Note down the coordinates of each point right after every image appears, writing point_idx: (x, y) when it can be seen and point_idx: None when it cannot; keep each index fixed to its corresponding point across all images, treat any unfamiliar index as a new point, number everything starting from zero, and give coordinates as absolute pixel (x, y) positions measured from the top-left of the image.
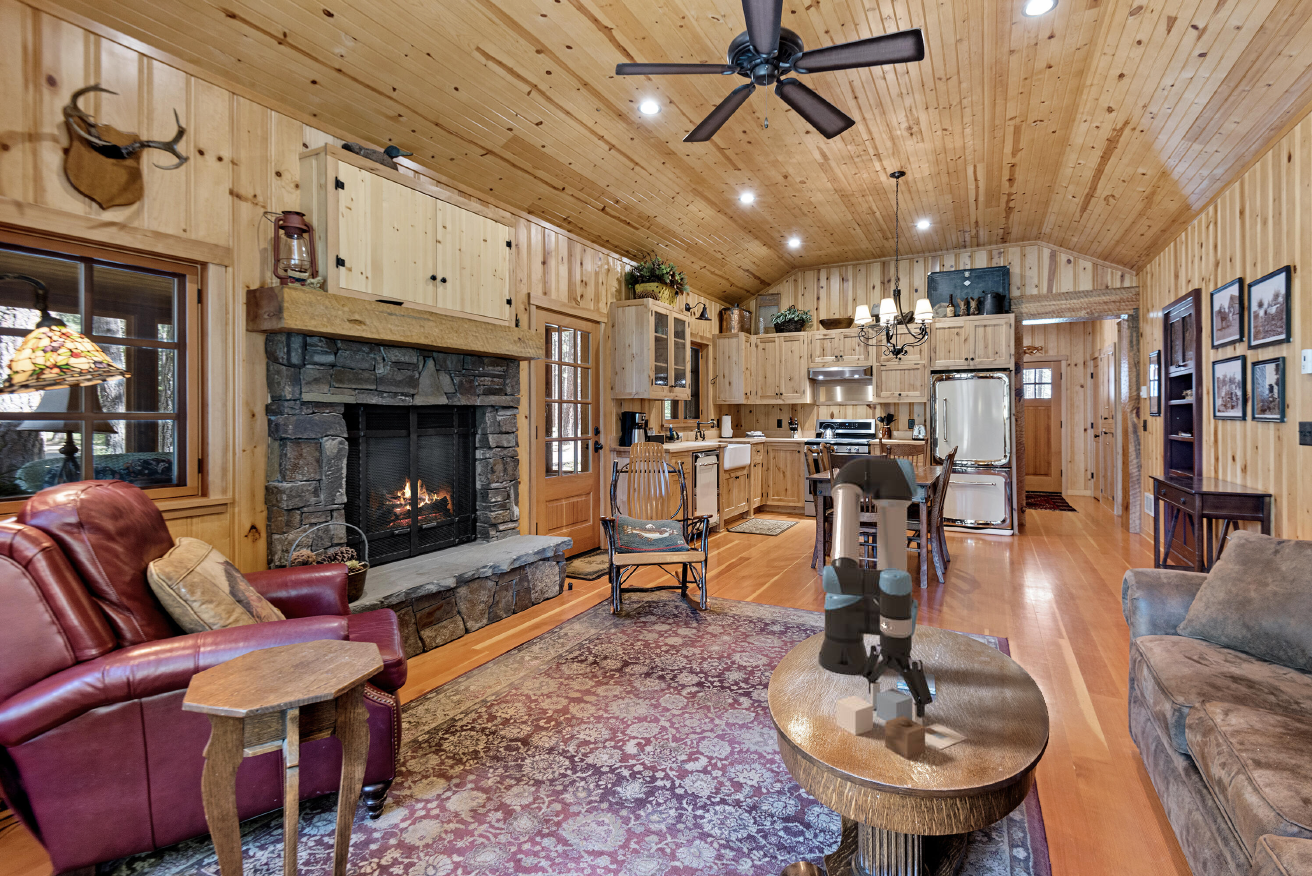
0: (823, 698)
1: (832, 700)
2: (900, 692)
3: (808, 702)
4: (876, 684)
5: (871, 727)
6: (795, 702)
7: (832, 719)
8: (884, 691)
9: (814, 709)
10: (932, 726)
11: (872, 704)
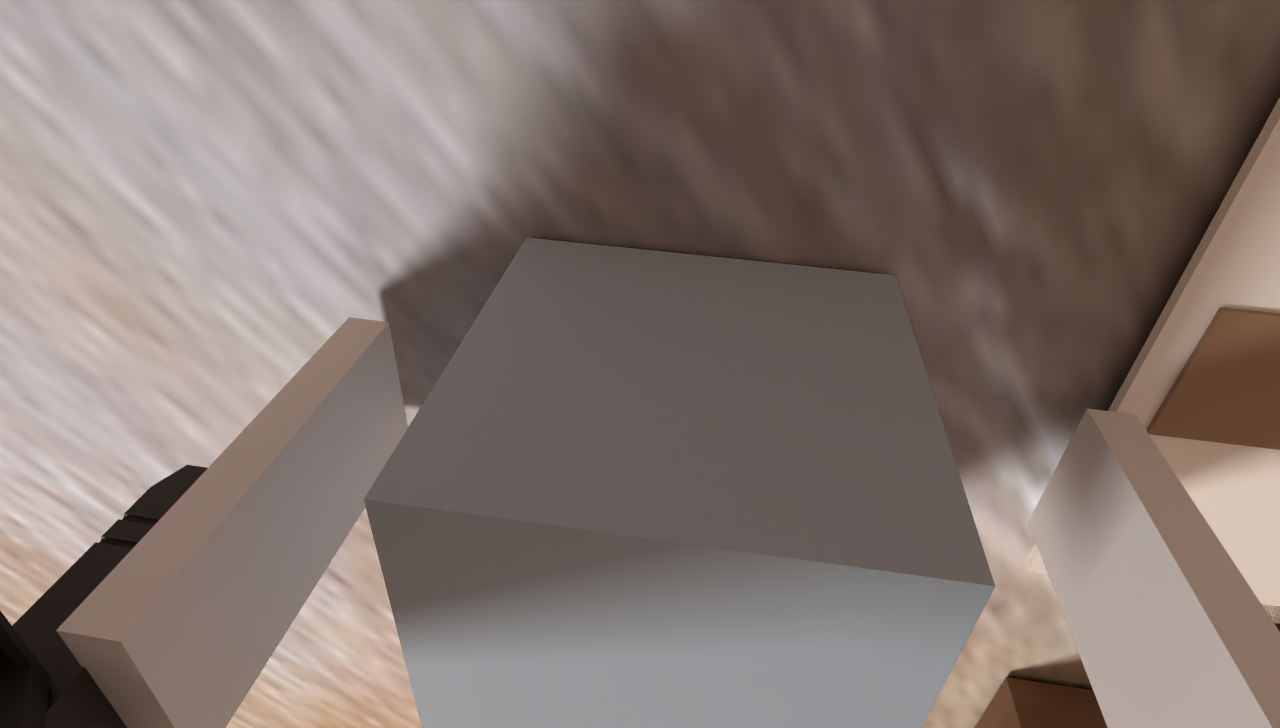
0: (23, 532)
1: (75, 509)
2: (627, 556)
3: None
4: (172, 693)
5: None
6: None
7: (405, 717)
8: (427, 692)
9: None
10: (1269, 228)
11: None
